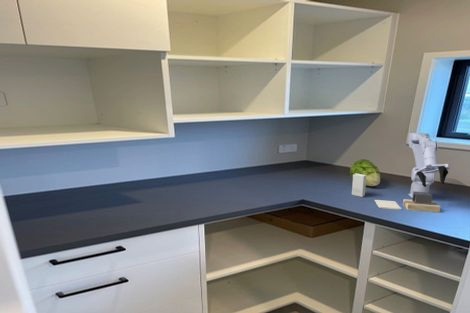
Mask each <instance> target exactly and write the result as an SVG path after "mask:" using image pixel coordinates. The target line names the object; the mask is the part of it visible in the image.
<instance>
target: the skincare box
mask: <svg viewBox="0 0 470 313" xmlns="http://www.w3.org/2000/svg"><path fill="white" fill-rule="evenodd" d="M366 187H367V186H366V175H363V174H357V173H355V174H354V175H353V179H352V188H351V195H352V196H355V197H361V198H363V197H365V196H366Z"/></svg>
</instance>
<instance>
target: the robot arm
mask: <svg viewBox="0 0 470 313" xmlns="http://www.w3.org/2000/svg"><path fill="white" fill-rule="evenodd" d="M407 138H408V139H407V140H408V141H407V143H408V147H409V148H410V149H412V152H413V158H414V162H415V166H414V167H413V168H412V169H411V181H412V183H411V185H410V191H409V193H407V195H408V196H409V197H410V198H411V199H412V198H413V191H415V192H429V193H430V186H431V185H432V184H433V183H434V182H435V179H436V174H435V173H438V174H439V180H440V183H441V184H442V185H443V184H445V181H446V177H447V175H448V174H449V171H448V170H451V166H450V164H449V163H443V164H442V163H441V164H440V163H439V162H438V161H439V160H438V154H437V151H438V146H439V143H438V142H437V140H436V141H435V140H434V141H433V140H432V139H431V138H430V134H429V132H425V133H424V132H413V131H412V132H409V133H408V137H407Z"/></svg>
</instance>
